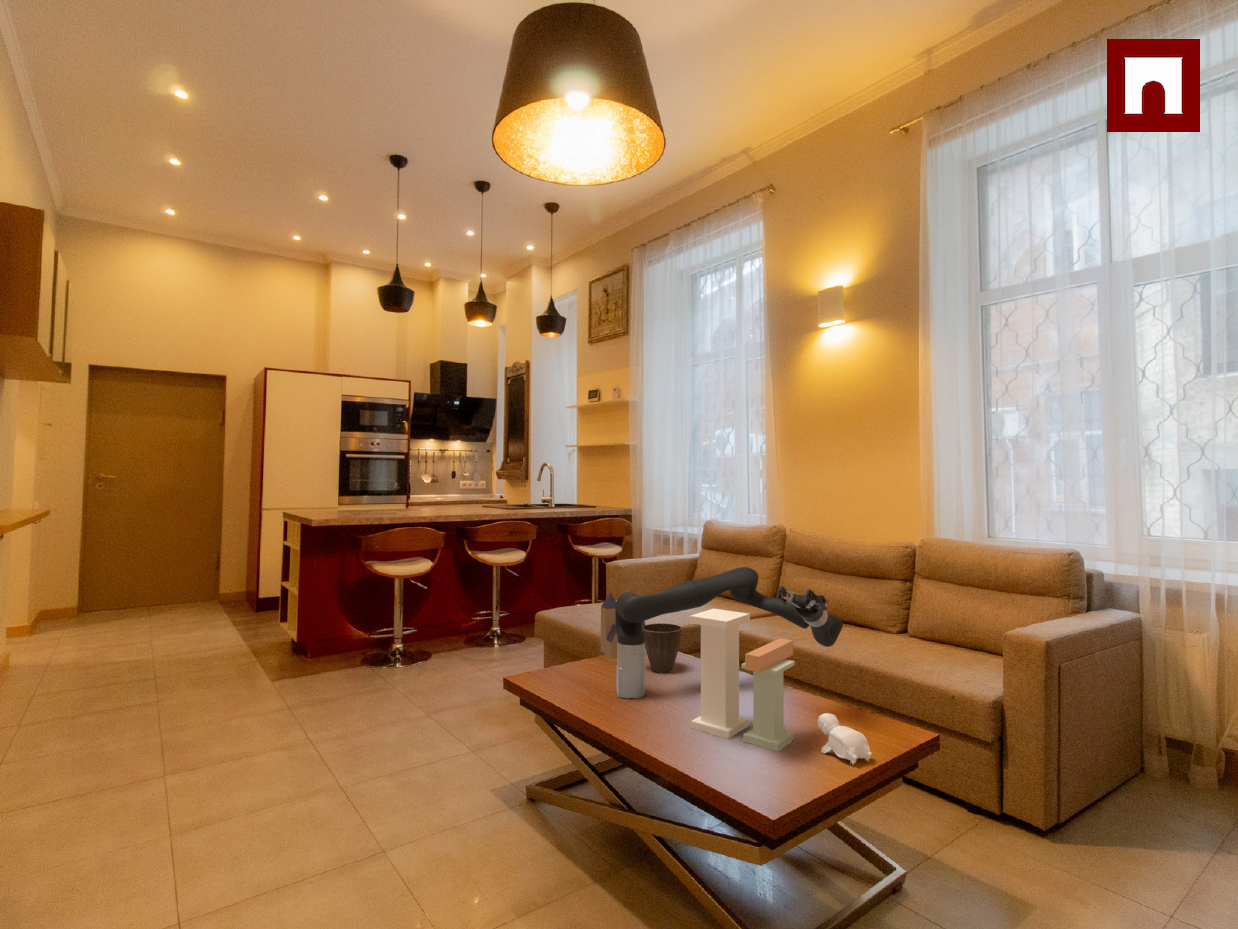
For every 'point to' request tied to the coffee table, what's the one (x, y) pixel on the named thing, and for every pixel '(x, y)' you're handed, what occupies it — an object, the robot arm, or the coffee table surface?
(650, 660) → the plant pot
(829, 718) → the white turtle figurine
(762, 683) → the short stand
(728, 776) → the coffee table surface
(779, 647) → the beam
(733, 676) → the tall stand
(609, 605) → the toy building blocks
